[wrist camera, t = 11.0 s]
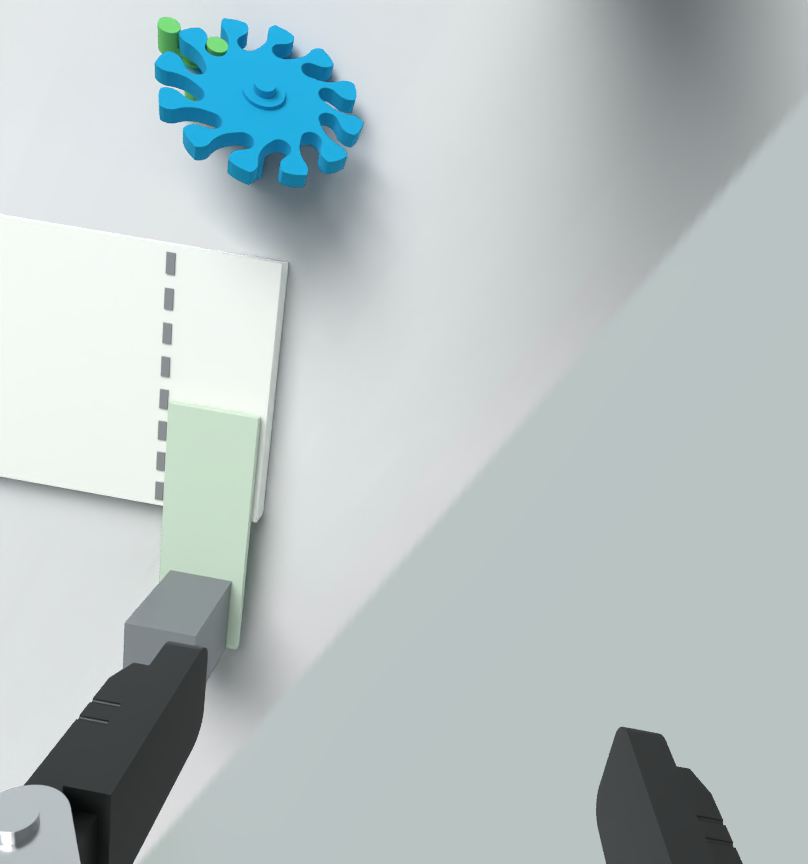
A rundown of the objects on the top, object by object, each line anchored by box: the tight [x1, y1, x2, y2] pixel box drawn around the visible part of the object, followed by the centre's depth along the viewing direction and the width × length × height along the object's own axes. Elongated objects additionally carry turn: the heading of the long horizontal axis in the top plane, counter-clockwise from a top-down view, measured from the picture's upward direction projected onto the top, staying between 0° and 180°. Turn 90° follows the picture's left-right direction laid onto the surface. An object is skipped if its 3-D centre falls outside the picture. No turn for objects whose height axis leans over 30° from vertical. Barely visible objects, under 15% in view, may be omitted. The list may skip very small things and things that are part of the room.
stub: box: [123, 401, 261, 682], centre depth 38 cm, size 16×5×7 cm, turn 171°
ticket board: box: [0, 214, 289, 523], centre depth 40 cm, size 16×24×2 cm, turn 81°
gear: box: [155, 17, 364, 187], centre depth 34 cm, size 11×6×10 cm
